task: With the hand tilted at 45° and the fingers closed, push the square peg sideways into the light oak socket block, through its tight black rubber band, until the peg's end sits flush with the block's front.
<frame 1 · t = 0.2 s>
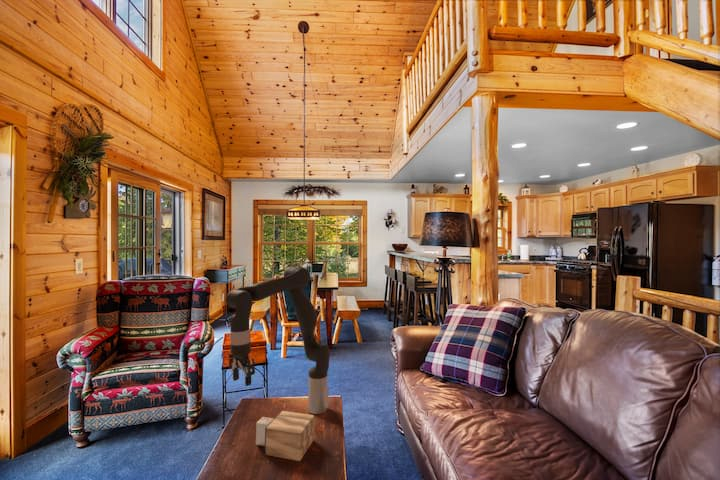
hand: (242, 382, 131), 29 cm above the table, tool pointing down, fingers open, 8 cm apart
socket block: (287, 446, 137), on the table
peg: (272, 432, 139), point 5 cm above the table, slide at 7.0 cm
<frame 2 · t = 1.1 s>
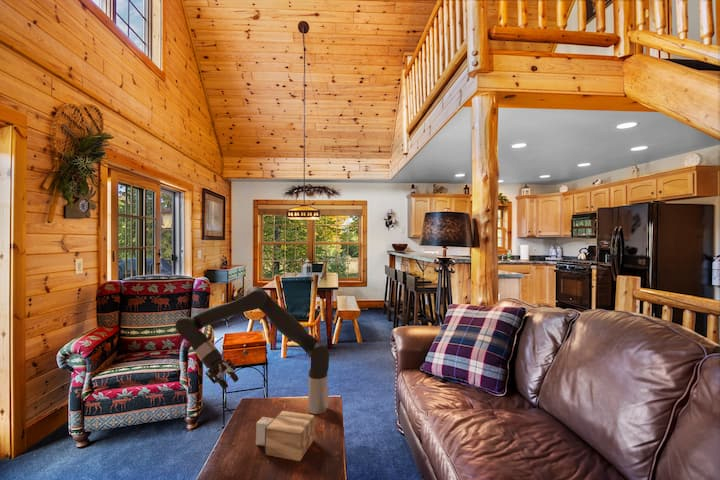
hand: (231, 384, 143), 23 cm above the table, tool tilted 45°, fingers open, 7 cm apart
nothing on the table moved.
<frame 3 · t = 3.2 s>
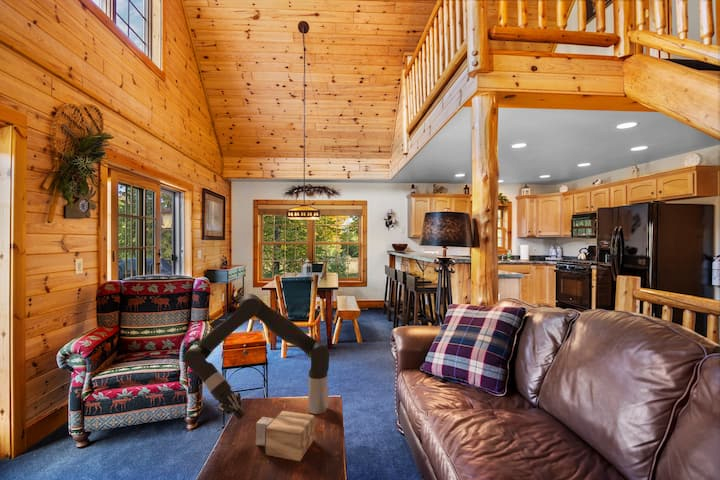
hand: (242, 417, 142), 9 cm above the table, tool tilted 45°, fingers closed
nothing on the table moved.
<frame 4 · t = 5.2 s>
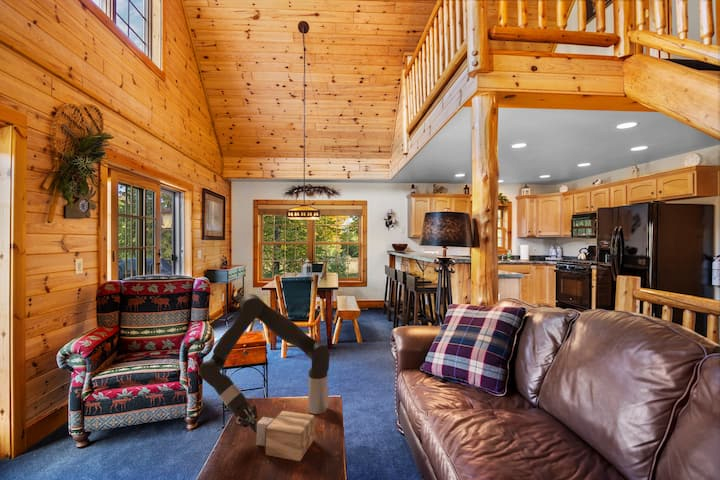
hand: (258, 431, 141), 4 cm above the table, tool tilted 45°, fingers closed
peg: (272, 432, 139), point 5 cm above the table, slide at 6.8 cm, touching gripper
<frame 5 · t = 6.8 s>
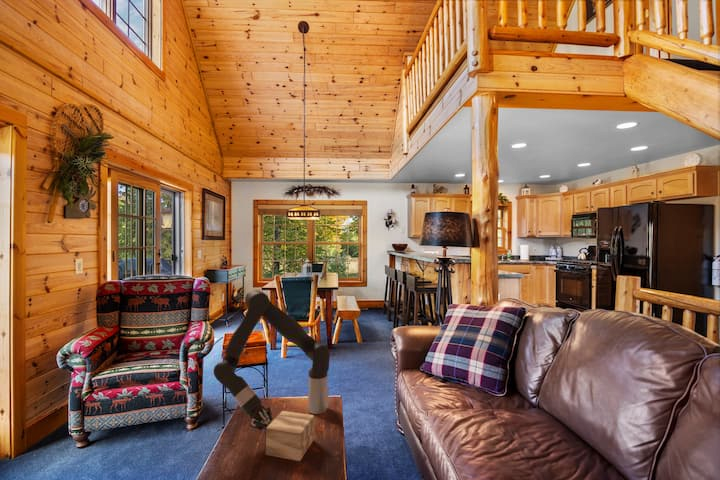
hand: (273, 433, 139), 4 cm above the table, tool tilted 45°, fingers closed
peg: (287, 435, 137), point 5 cm above the table, slide at 0.0 cm, touching gripper
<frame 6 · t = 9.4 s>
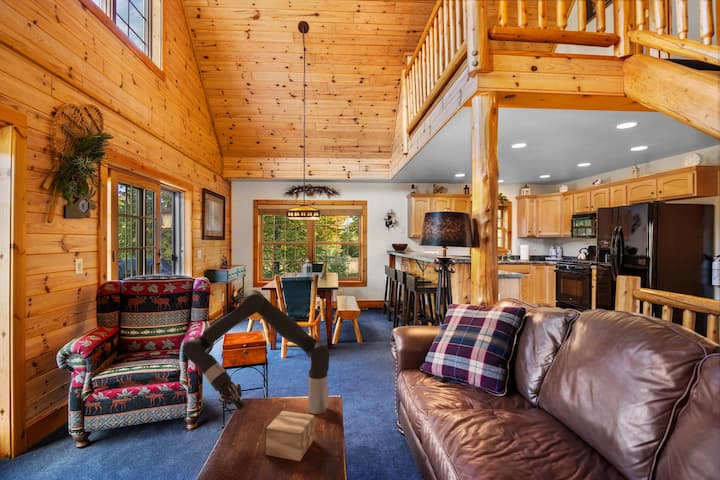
hand: (242, 408, 142), 13 cm above the table, tool tilted 45°, fingers closed
peg: (287, 435, 137), point 5 cm above the table, slide at 0.0 cm
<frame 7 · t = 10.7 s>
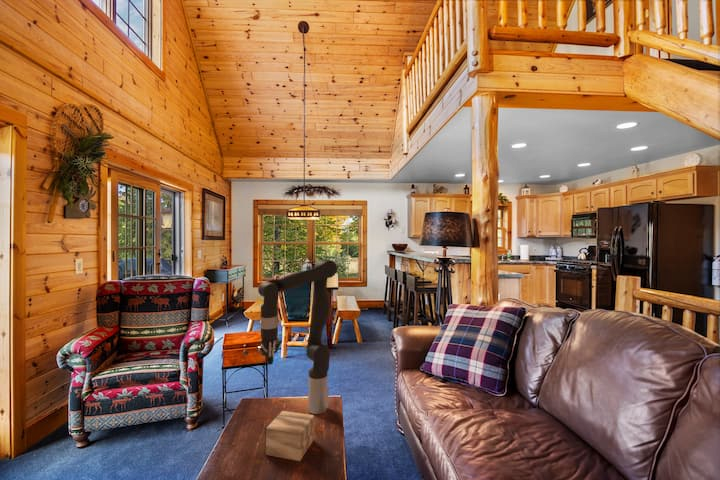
hand: (269, 363, 152), 28 cm above the table, tool pointing down, fingers closed
nothing on the table moved.
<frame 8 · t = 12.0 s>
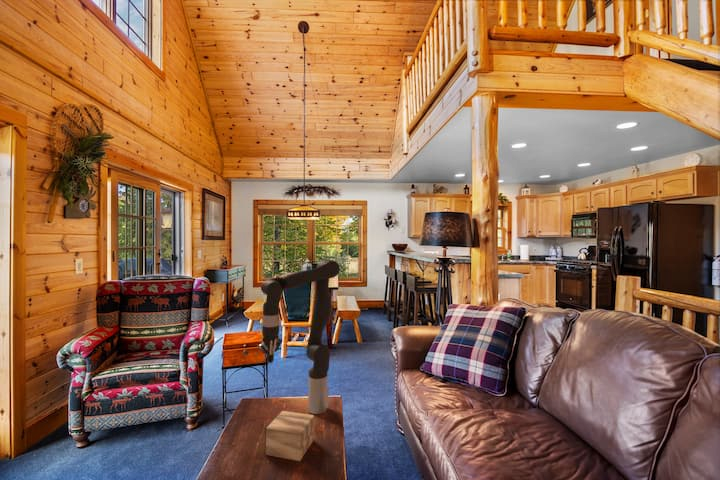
hand: (270, 362, 152), 29 cm above the table, tool pointing down, fingers closed
nothing on the table moved.
at the end: peg slide at 0.0 cm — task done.
